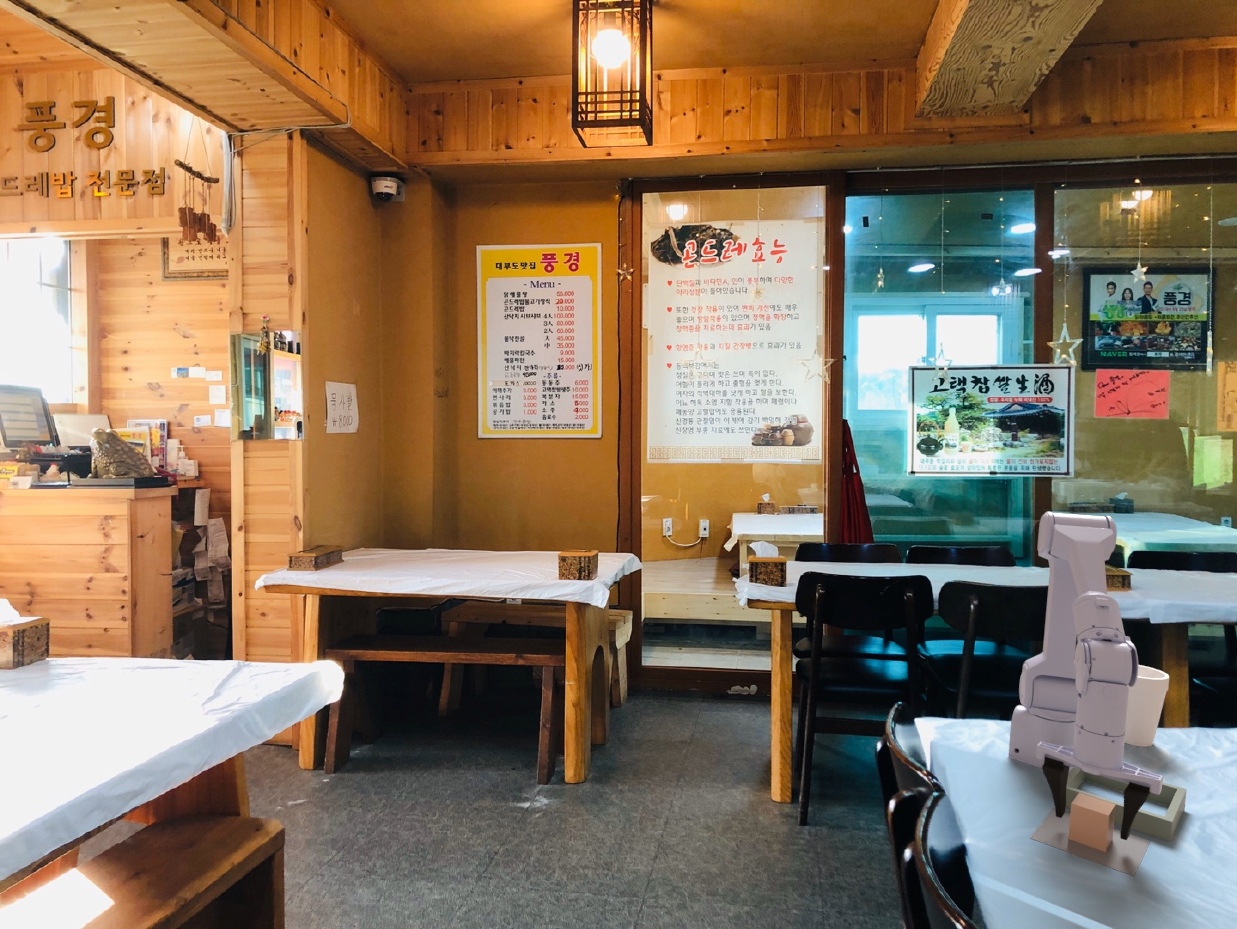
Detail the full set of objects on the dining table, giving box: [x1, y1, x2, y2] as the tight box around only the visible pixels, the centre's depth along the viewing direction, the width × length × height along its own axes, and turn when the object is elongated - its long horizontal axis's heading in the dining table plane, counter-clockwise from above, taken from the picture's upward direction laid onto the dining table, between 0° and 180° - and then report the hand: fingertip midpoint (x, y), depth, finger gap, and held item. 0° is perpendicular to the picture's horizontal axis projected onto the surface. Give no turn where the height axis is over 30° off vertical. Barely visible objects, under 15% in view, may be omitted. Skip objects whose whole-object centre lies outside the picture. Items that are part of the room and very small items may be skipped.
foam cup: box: [1124, 664, 1170, 748], centre depth 144 cm, size 10×9×13 cm
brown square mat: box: [1029, 807, 1151, 877], centre depth 106 cm, size 12×12×1 cm
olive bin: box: [1066, 768, 1187, 842], centre depth 116 cm, size 14×14×4 cm
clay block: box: [1068, 793, 1116, 852], centre depth 106 cm, size 4×4×5 cm
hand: (1091, 825), depth 106 cm, fingers open, 7 cm apart
